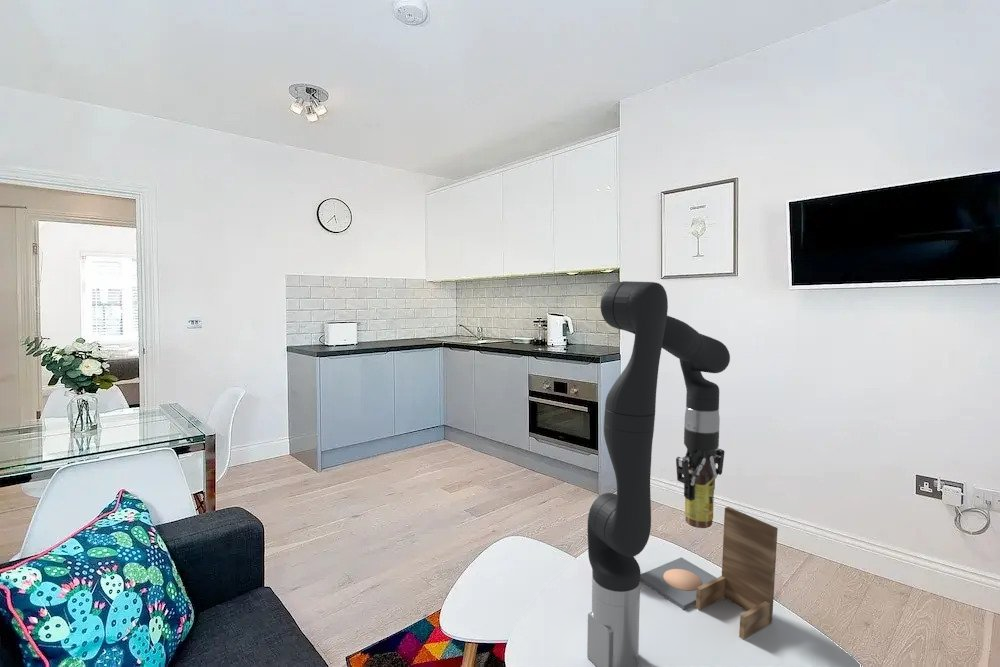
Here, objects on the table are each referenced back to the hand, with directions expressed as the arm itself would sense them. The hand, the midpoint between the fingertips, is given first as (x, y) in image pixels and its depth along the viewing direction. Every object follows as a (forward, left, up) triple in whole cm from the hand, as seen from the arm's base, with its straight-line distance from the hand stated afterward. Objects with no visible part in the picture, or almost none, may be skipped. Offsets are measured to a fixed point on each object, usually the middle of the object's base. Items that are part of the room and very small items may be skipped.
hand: (699, 495), depth 119 cm
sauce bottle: (0, 0, -7) cm, 7 cm away
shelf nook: (+1, -9, -25) cm, 27 cm away
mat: (+1, +5, -25) cm, 25 cm away
